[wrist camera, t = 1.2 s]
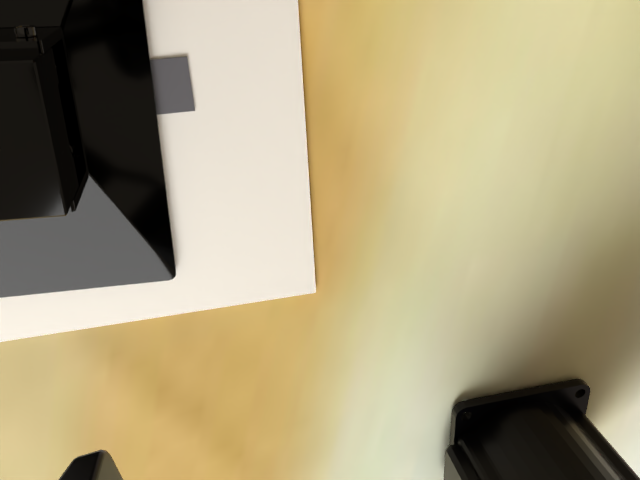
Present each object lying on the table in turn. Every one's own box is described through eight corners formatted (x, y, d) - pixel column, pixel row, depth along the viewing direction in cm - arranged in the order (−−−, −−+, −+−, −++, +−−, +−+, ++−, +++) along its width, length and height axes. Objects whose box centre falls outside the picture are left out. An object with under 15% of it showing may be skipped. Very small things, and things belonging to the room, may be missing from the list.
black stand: (-193, -164, 14) (-352, -214, 10) (135, -154, 15) (119, -194, 11) (-47, 297, 19) (-108, 392, 15) (185, 274, 20) (187, 354, 16)
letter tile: (280, -253, 15) (282, -257, 15) (315, 289, 22) (316, 293, 22) (-483, -250, 12) (-498, -255, 12) (-160, 363, 20) (-164, 369, 19)
